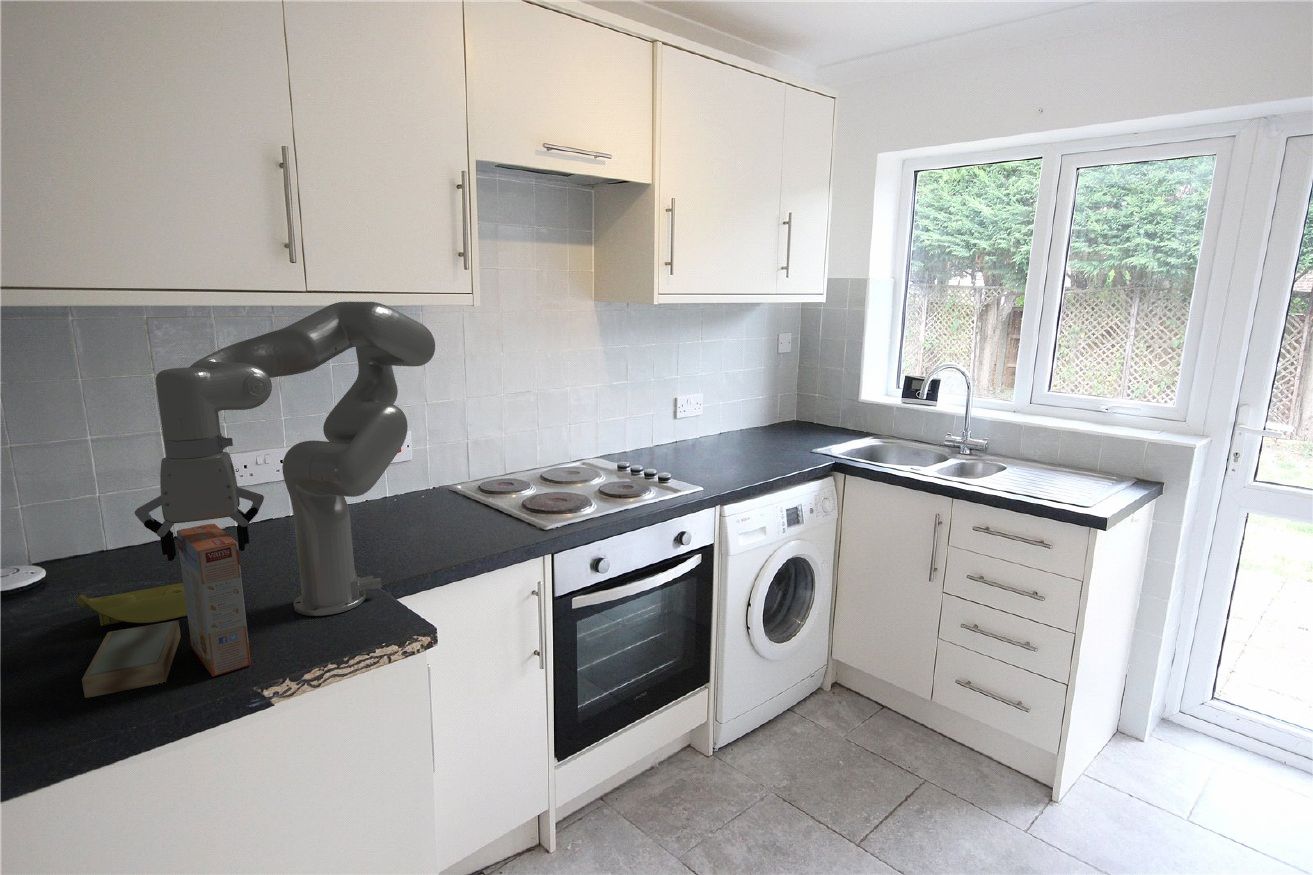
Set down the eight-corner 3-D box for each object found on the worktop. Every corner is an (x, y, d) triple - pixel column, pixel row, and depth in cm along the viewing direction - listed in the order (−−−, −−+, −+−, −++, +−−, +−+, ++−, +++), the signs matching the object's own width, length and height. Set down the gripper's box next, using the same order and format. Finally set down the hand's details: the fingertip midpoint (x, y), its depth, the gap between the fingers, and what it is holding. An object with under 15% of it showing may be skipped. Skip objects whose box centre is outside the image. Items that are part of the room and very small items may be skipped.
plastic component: (198, 580, 146) (210, 570, 139) (204, 616, 144) (217, 609, 138) (72, 602, 132) (79, 593, 125) (78, 643, 130) (85, 636, 124)
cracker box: (254, 665, 116) (239, 541, 112) (211, 679, 112) (193, 550, 108) (230, 636, 126) (215, 521, 122) (190, 648, 122) (173, 529, 118)
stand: (180, 636, 127) (178, 619, 126) (165, 682, 112) (162, 663, 111) (110, 648, 122) (107, 631, 122) (85, 698, 107) (81, 678, 107)
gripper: (258, 438, 120) (269, 538, 123) (131, 449, 112) (147, 554, 116) (256, 447, 113) (268, 552, 116) (121, 458, 106) (138, 570, 109)
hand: (208, 553), depth 116 cm, fingers open, 9 cm apart
